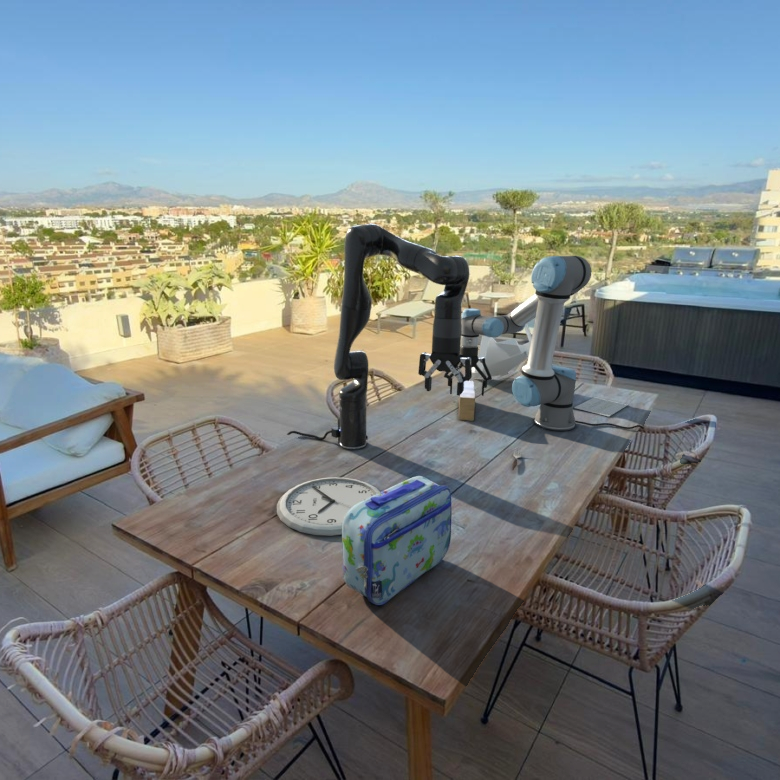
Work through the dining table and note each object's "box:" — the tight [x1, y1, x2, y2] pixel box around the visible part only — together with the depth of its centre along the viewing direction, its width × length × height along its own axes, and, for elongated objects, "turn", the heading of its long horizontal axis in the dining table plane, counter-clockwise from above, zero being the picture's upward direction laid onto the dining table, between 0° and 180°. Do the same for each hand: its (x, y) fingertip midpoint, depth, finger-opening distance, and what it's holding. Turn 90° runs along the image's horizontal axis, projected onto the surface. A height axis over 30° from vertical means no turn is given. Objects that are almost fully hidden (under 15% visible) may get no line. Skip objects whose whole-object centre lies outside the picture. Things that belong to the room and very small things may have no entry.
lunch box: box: [341, 475, 453, 606], centre depth 111 cm, size 26×11×21 cm, turn 134°
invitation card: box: [573, 396, 629, 418], centre depth 226 cm, size 21×1×15 cm
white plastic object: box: [471, 323, 532, 379], centre depth 257 cm, size 37×45×31 cm
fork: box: [512, 447, 523, 471], centre depth 171 cm, size 3×16×2 cm, turn 160°
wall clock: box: [276, 476, 382, 537], centre depth 142 cm, size 30×2×30 cm
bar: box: [458, 380, 476, 422], centre depth 218 cm, size 24×6×9 cm, turn 173°
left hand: (443, 392), depth 143 cm, fingers open, 8 cm apart
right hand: (466, 394), depth 226 cm, fingers open, 13 cm apart
